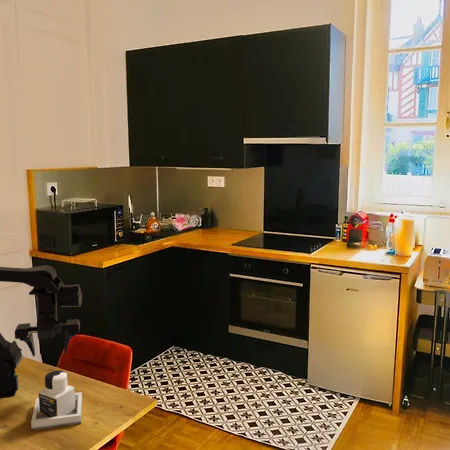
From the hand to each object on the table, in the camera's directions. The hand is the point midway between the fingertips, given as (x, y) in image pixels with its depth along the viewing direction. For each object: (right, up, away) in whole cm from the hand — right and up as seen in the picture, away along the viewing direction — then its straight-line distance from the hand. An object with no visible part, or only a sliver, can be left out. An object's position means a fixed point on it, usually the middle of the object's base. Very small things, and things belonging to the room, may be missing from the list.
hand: (49, 354), depth 151 cm
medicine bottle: (+7, -14, -11) cm, 19 cm away
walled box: (+7, -14, -11) cm, 19 cm away
